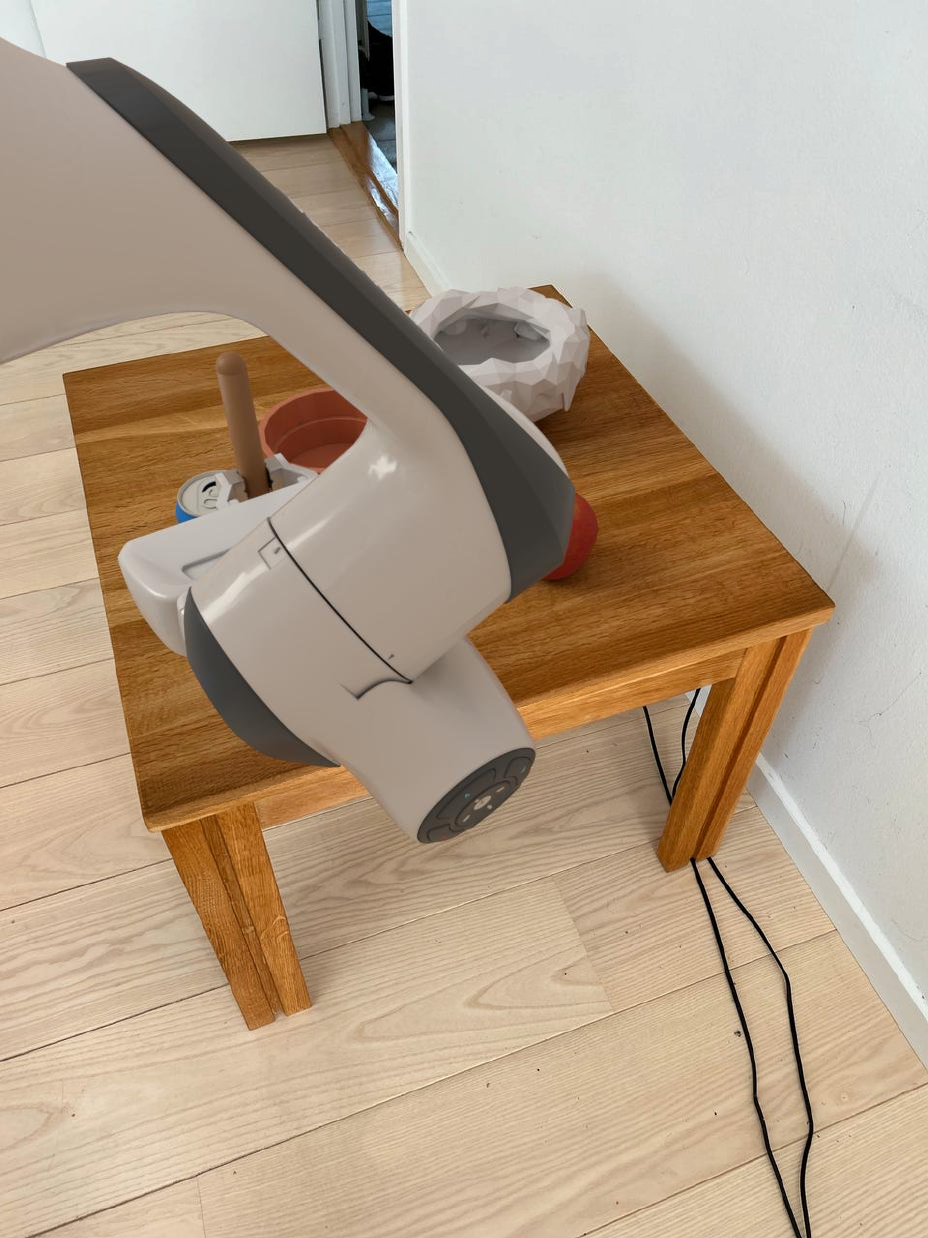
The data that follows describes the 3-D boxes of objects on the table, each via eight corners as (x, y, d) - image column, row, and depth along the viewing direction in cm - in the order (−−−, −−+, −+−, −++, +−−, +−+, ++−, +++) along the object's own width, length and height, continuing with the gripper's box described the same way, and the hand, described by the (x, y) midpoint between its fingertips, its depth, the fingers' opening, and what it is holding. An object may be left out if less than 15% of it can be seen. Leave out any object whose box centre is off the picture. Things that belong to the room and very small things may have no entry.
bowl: (609, 454, 94) (620, 367, 87) (409, 474, 92) (404, 386, 85) (563, 349, 108) (569, 266, 101) (389, 364, 106) (383, 281, 99)
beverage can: (287, 578, 82) (265, 468, 73) (269, 631, 78) (244, 521, 69) (216, 573, 82) (186, 464, 74) (194, 626, 78) (159, 516, 69)
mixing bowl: (335, 548, 85) (328, 492, 80) (239, 486, 91) (226, 431, 86) (437, 478, 92) (435, 422, 87) (341, 425, 98) (335, 371, 93)
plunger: (274, 636, 66) (220, 390, 51) (224, 600, 69) (159, 355, 54) (331, 595, 69) (296, 351, 54) (281, 561, 72) (235, 319, 57)
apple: (596, 596, 80) (605, 528, 74) (505, 596, 80) (507, 528, 75) (589, 537, 85) (597, 469, 80) (503, 537, 86) (506, 469, 80)
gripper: (493, 497, 55) (385, 386, 63) (153, 626, 47) (81, 482, 55) (490, 575, 59) (390, 462, 67) (181, 704, 52) (110, 559, 60)
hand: (248, 472), depth 61 cm, fingers closed on plunger
